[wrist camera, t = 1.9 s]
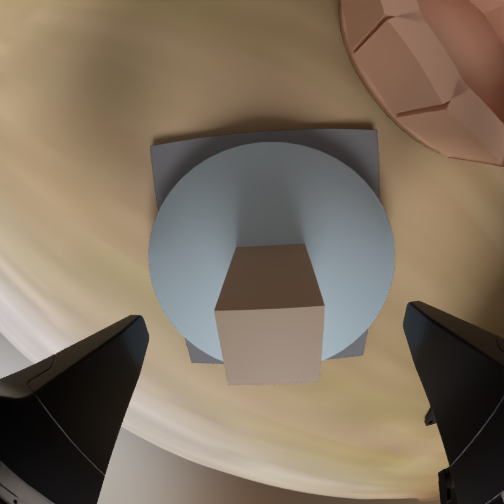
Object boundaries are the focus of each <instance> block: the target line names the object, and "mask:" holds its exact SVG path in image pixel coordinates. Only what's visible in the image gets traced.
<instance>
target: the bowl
mask: <svg viewBox="0 0 504 504" xmlns="http://www.w3.org/2000/svg"><path fill="white" fill-rule="evenodd" d="M339 21H340V29H341V34H342V38H343V42H344V45H345V48H346V50H347V53H348V56H349V58H350V61H351V63H352V65H353V67H354V69H355V71H356V73H357V75H358V76H359V78H360V79H361V81H362V83H363V84H364V86H365V88H366V89H367V90H368V92H369V93H370V95H371V96H372V97H373V99H374V100H375V101H376V103H377V104H378V105H379V106H380V107H381V109H382V110H383V111H384V112H385V113H386V114H387V116H388V117H389V118H391V119H392V120H393V121H394V122H395V123H396V124H397V125H398V126H399V127H400V128H401V129H402V130H403V131H405V132H406V133H407V134H408V135H409V136H411V137H412V138H413V139H415V140H416V141H418V142H419V143H421V144H422V145H424V146H426V147H428V148H429V149H431V150H433V151H435V152H438V153H440V154H443V155H444V156H448V158H455V159H462V160H468V161H474V162H480V163H485V164H491V165H496V166H501V167H504V0H341V2H340V9H339Z"/></svg>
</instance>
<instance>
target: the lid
mask: <svg viewBox="0 0 504 504" xmlns="http://www.w3.org/2000/svg"><path fill="white" fill-rule="evenodd" d="M148 253H149V271H150V276H151V282H152V285H153V288H154V292H155V295H156V297H157V299H158V301H159V304H160V306H161V308H162V309H163V311H164V313H165V314H166V316H167V317H168V319H169V320H170V322H171V323H172V324H173V325H174V327H175V328H176V329H177V330H178V331H179V332H180V333H181V334H182V335H183V336H184V337H185V338H186V339H187V340H188V341H189V342H191V343H192V344H193V345H194V346H196V347H197V348H198V349H200V350H202V351H203V352H205V353H207V354H208V355H210V356H212V357H214V358H216V359H218V360H220V361H223V362H224V367H225V372H226V377H227V382H228V385H282V384H300V383H314V382H319V381H320V370H321V361H323V360H325V359H328V358H330V357H332V356H333V355H335V354H337V353H339V352H340V351H342V350H344V349H345V348H346V347H348V346H349V345H350V344H352V343H353V342H354V341H355V340H356V339H358V338H359V337H360V336H361V335H362V334H363V333H364V332H365V331H366V330H367V328H368V327H369V326H370V325H371V324H372V322H373V321H374V320H375V318H376V317H377V315H378V313H379V312H380V310H381V309H382V306H383V304H384V302H385V300H386V298H387V296H388V293H389V290H390V287H391V284H392V279H393V274H394V267H395V247H394V238H393V234H392V230H391V226H390V222H389V220H388V217H387V215H386V212H385V210H384V208H383V206H382V204H381V203H380V201H379V199H378V198H377V196H376V194H375V193H374V192H373V190H372V189H371V188H370V187H369V185H368V184H367V183H366V182H365V181H364V180H363V179H362V178H361V177H360V176H359V175H358V174H357V173H356V172H355V171H353V170H352V169H351V168H350V167H348V166H347V165H345V164H344V163H342V162H341V161H339V160H338V159H336V158H334V157H332V156H330V155H328V154H326V153H324V152H321V151H319V150H316V149H313V148H310V147H306V146H303V145H298V144H291V143H284V142H260V143H253V144H246V145H241V146H238V147H235V148H231V149H228V150H225V151H223V152H221V153H218V154H216V155H214V156H212V157H210V158H208V159H206V160H205V161H203V162H202V163H200V164H199V165H197V166H196V167H194V168H193V169H192V170H191V171H189V172H188V173H187V174H186V175H185V176H184V177H183V178H182V179H180V181H179V182H178V183H177V184H176V185H175V186H174V188H173V189H172V190H171V191H170V193H169V194H168V196H167V197H166V199H165V200H164V202H163V204H162V205H161V207H160V209H159V212H158V214H157V216H156V219H155V221H154V224H153V228H152V232H151V236H150V243H149V252H148Z"/></svg>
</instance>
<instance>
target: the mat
mask: <svg viewBox="0 0 504 504" xmlns="http://www.w3.org/2000/svg"><path fill="white" fill-rule="evenodd" d="M260 142H284V143H291V144H298V145H303V146H306V147H310V148H313V149H316V150H319V151H321V152H324V153H326V154H328V155H330V156H332V157H334V158H336V159H338V160H339V161H341V162H342V163H344V164H345V165H347V166H348V167H350V168H351V169H352V170H353V171H355V172H356V173H357V174H358V175H359V176H360V177H361V178H362V179H363V180H364V181H365V182H366V183H367V184H368V185H369V187H370V188H371V189H372V190H373V192H374V193H375V194H376V196H377V198H378V199H379V159H378V137H377V130H361V129H297V130H275V131H260V132H248V133H238V134H228V135H219V136H211V137H204V138H197V139H190V140H183V141H177V142H171V143H166V144H160V145H155V146H150V152H151V161H152V169H153V177H154V185H155V192H156V199H157V206H158V212H159V209H160V207H161V205H162V204H163V202H164V200H165V199H166V197H167V196H168V194H169V193H170V191H171V190H172V189H173V188H174V186H175V185H176V184H177V183H178V182H179V181H180V179H182V178H183V177H184V176H185V175H186V174H187V173H188V172H189V171H191V170H192V169H193V168H194V167H196V166H197V165H199V164H200V163H202V162H203V161H205V160H206V159H208V158H210V157H212V156H214V155H216V154H218V153H221V152H223V151H225V150H228V149H231V148H235V147H238V146H241V145H246V144H253V143H260ZM367 330H368V328H367ZM367 330H366V331H365V332H364V333H363V334H362V335H361V336H360V337H359V338H358V339H356V340H355V341H354V342H353V343H352V344H350V345H349V346H348V347H346V348H345V349H344V350H342V351H340V352H339V353H337V354H335V355H333V356H332V357H330V358H328V359H337V358H346V357H354V356H362V355H363V353H364V348H365V342H366V336H367ZM185 340H186V344H187V347H188V351H189V355H190V358H191V362H192V363H212V364H224V362H223V361H220V360H218V359H216V358H214V357H212V356H210V355H208V354H207V353H205V352H203V351H202V350H200V349H198V348H197V347H196V346H194V345H193V344H192V343H191V342H189V341H188V340H187V339H186V338H185ZM325 360H327V359H325Z"/></svg>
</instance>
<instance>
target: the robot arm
mask: <svg viewBox="0 0 504 504" xmlns="http://www.w3.org/2000/svg"><path fill="white" fill-rule="evenodd" d="M403 329H404V332H405V335H406V338H407V342H408V345H409V348H410V352H411V355H412V358H413V361H414V364H415V367H416V370H417V372H418V375H419V377H420V380H421V382H422V385H423V387H424V390H425V392H426V395H427V398H428V400H429V403H430V406H431V410H430V412H429V414H428V415H427V417H426V419H425V421H424V422H425V424H426V426H428V425H432V424H435V423H437V426H438V429H439V432H440V435H441V439H442V442H443V445H444V448H445V452H446V455H447V459H448V462H449V467H448V468H446V469H443V470H442V471H440V472H438V477H439V482H438V483H439V491H440V502H441V504H504V339H503V338H501V337H499V336H497V335H496V336H495V335H494V334H492V333H490V332H488V331H486V330H484V329H481V328H479V327H477V326H475V325H473V324H470V323H468V322H466V321H464V320H461V319H459V318H457V317H455V316H453V315H450V314H448V313H446V312H444V311H441V310H439V309H437V308H434V307H432V306H430V305H428V304H425V303H423V302H421V301H413V302H409V303H408V304H407V307H406V312H405V317H404V322H403ZM148 342H149V334H148V331H147V328H146V324H145V321H144V318H143V317H142V316H141V315H130V316H128V317H126V318H124V319H122V320H120V321H118V322H116V323H114V324H112V325H110V326H108V327H106V328H104V329H103V330H101V331H99V332H97V333H95V334H93V335H91V336H89V337H87V338H85V339H83V340H81V341H79V342H77V343H75V344H73V345H71V346H70V347H68V348H66V349H64V350H62V351H60V352H58V353H56V354H54V355H52V356H50V357H48V358H46V359H44V360H42V361H40V362H38V363H36V364H34V365H31V366H29V367H27V368H25V369H23V370H20V371H18V372H16V373H13V374H11V375H9V376H6V377H4V378H1V379H0V504H97V502H98V498H99V495H100V491H101V488H102V484H103V481H104V478H105V476H104V475H105V474H106V470H107V467H108V464H109V461H110V458H111V455H112V451H113V448H114V445H115V442H116V439H117V436H118V433H119V430H120V428H121V425H122V422H123V419H124V416H125V413H126V411H127V408H128V405H129V402H130V400H131V397H132V394H133V392H134V389H135V386H136V384H137V381H138V378H139V375H140V372H141V368H142V365H143V361H144V357H145V353H146V350H147V346H148Z"/></svg>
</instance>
